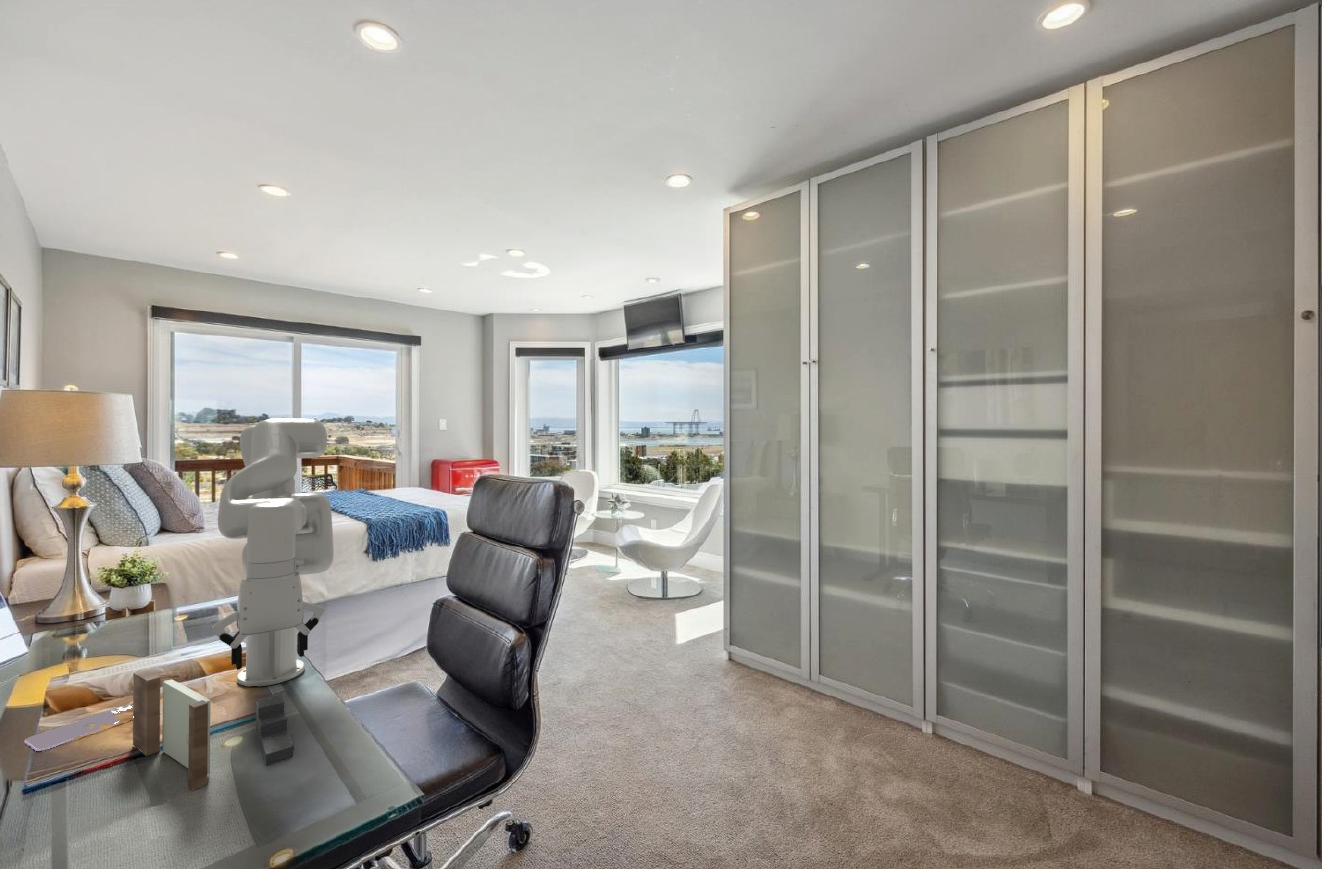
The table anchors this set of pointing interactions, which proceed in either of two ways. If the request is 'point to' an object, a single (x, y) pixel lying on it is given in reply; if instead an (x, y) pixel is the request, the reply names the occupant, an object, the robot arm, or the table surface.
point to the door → (179, 721)
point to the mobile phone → (72, 730)
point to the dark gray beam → (273, 730)
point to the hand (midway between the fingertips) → (270, 660)
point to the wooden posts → (149, 726)
